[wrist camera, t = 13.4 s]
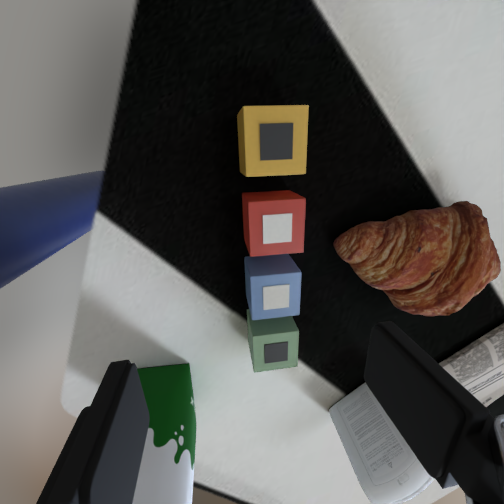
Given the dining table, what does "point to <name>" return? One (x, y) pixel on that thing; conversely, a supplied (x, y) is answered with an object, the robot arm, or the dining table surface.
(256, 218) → the red block
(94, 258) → the dining table surface
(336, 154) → the dining table surface
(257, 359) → the sage block
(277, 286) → the blue block
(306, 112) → the mustard block
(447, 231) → the pastry
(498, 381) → the newspaper
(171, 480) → the milk carton
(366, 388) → the photo printer
